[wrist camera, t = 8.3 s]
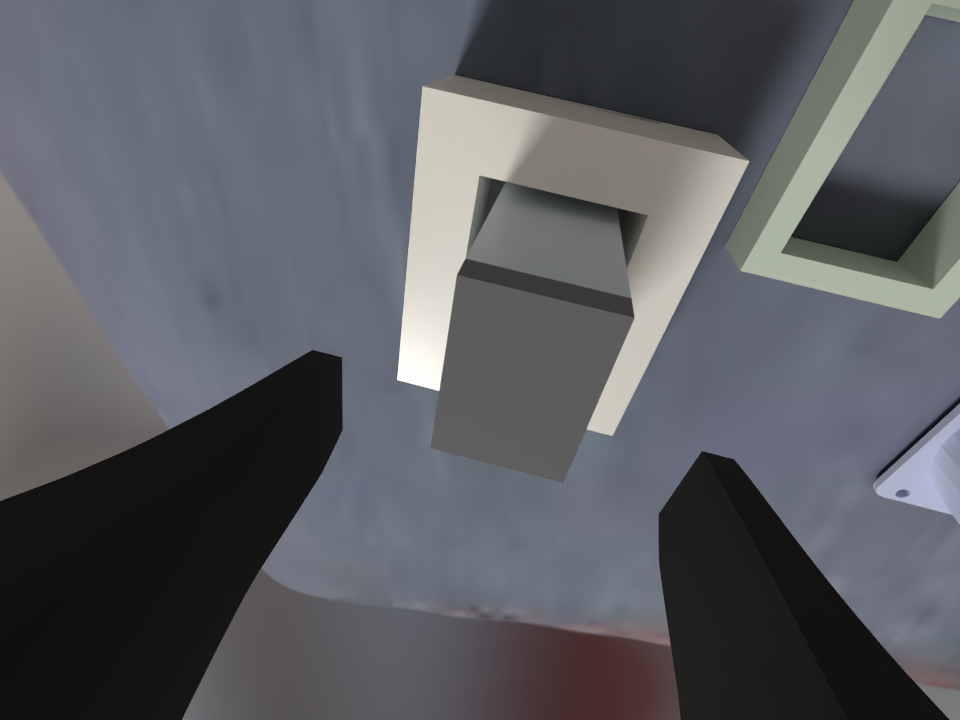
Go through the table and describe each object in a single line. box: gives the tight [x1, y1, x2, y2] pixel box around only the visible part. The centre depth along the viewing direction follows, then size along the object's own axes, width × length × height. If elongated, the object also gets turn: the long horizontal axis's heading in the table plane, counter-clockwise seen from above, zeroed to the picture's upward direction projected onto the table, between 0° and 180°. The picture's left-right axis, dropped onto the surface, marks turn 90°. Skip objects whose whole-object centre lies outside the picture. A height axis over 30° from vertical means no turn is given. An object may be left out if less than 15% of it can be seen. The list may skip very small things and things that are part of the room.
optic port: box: [397, 75, 749, 436], centre depth 16 cm, size 8×10×4 cm
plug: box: [431, 182, 635, 482], centre depth 14 cm, size 4×5×8 cm
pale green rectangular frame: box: [725, 0, 960, 319], centre depth 13 cm, size 6×8×2 cm
